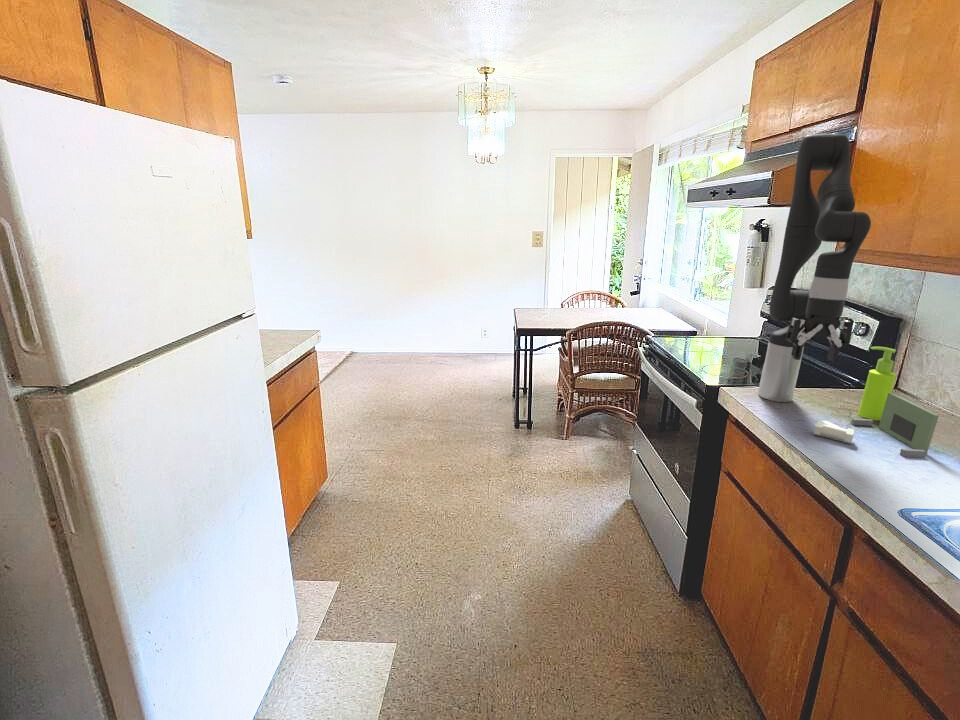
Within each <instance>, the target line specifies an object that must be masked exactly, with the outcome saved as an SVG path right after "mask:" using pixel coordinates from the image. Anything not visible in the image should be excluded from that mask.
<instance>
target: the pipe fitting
mask: <svg viewBox="0 0 960 720" xmlns="http://www.w3.org/2000/svg"><path fill="white" fill-rule="evenodd" d="M854 434H855V429H853V428H844V427H842V426H839V425H838V424H835V423H833V422H831V421H829V420H823V421H818V420H817V421H816V422H815V424H814V428H813V433H812V435H813V436H815V437H823V438H826V439H831V440H835V441H839V442H843V443H844V444H848V445H852V442H853V438H854Z"/></svg>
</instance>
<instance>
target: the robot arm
mask: <svg viewBox="0 0 960 720" xmlns="http://www.w3.org/2000/svg"><path fill="white" fill-rule="evenodd" d="M812 171H831V172H830V174H829V175H827V176H826V177H825V178H824V179H823V180H822V182H821V183H820V185H819V187H818V189H817V198H816V196H815V194H814V190H813V187H812V181H811V174H812V173H811V172H812ZM850 175H851V144H850V140H849V138H848V136H847V134H842V133H811V134H806V135H805V136H804V137H803V138H802V140H801V141H800V144H799V146H798V150H797V158H796V163H795V173H794V181H793V182H794V183H793V190H792V197H791V203H790V206H789V212H788V216H787V217H788V218H787V221H786V225H785V232H784V238H783V243H782V244H783V245H782V250H781V257H780V262H779V268H778V271H777V275H776V277H775V283H774V286H773V290H772V294H771V296H770V301H769V308H768V309H769V311H768V312H769V317H770V318H771V319H772V320H773V321H776V322H789V324H788V325H787V326H785V327H784V328H783V327H782V328H780V329H778V330H774V331H772V332H771V333H770V334H769V339H768V343H767V348H766V349H767V350H766V353H765V359H764V362H763V366H762V371H761V376H760V381H759V385H758V386H759V387H758V391H757V392H758V396H759V397H761V398H762V399H765V400H769V401H772V402H777V403H790V402H792V401H793V398H794V393H795V391H796V385H797V380H798V378H799V377H798V376H799V372H800V371H799V370H800V367H801V362H802V358H803V355H804V354H803V353H804V348H805V346H806V341H808V340H811V338H812V337H813V338H826V339H828V341H829V343H830V345H829V347H828V352H827V356H826V359H827V361H830V362H835V361H836V360H837V359H838V357H839V354H840V349H841V347H842V346H849V345H850V344H851V338H852V333H853V326H854V322H853V321H851V320H847V319H843V320H841V317H842V316H843V313H844V309H845V304H846V298H847V295H848V290H849V282H850V281H849V280H850V275H851V270H852V267H853V263H854V260H855V259H856V256H857V254H858V252H859V250H860V248H861V246H862V244H863V243H864V240H865V239H866V238H867V236H868V234H869V232H870V229H871V226H872V221H871V220H872V219H871V217H870V216H869V214H868V213H866V212H864V211H854V209H855V208H856V207H855V206H856V200H855V197H854V193H853V189H852V188H853V187H852V185H851V178H850V177H851V176H850ZM822 242H825V243H826V242H828V243H829V242H831V243H843V246H842V247H841V248H840V249H838V250H835V251H827V252H824V253H823V252H822V253H821V254H819V255H818V258H817V261H816V266H815V270H814V271H815V272H814V275H813V279H812V282H811V283H810V289H809V290H799V289H798V290H796V289H795V290H794V289H792V286H793V283H794V280H795V278H796V276H797V274H798V273H799V272H800V270H801V269H802V268H803V267H804V265H806V263H807V262H808V261H809V260H810V259H811V258H812V257H813V256H814V255H815V253H816V252H818V250H819V248H820V247H821V244H822ZM838 328H839V329H840V330H839V334H838V332H837V331H836V330H838Z"/></svg>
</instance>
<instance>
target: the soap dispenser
mask: <svg viewBox="0 0 960 720" xmlns="http://www.w3.org/2000/svg"><path fill="white" fill-rule="evenodd" d="M870 349H871V350H872V351H873V350H877V351H878V350H879V351H884V352H883V356H882V358H879V359H877V363H876V366H875V369H869V370H868V375H867V378H866V382H865V385H864V389H863V392H862V397H861V402H860V404H859V405H860V406H859V409H858V412H857V414H858V416H860V417H862V418H863V419H871V420H873V421H880V420H881V417H882V413H883V410H884V406H885V403H886V399H887V395H888V393H893V389H894V384H895V381H896V378H897V374H896V373H894V372H892V370H893V366H894V360H892V359H891V358H892V357H893V354H895V353H896V351H897V350H896V349H895V348H891V347H886V346H871V347H870Z"/></svg>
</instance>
